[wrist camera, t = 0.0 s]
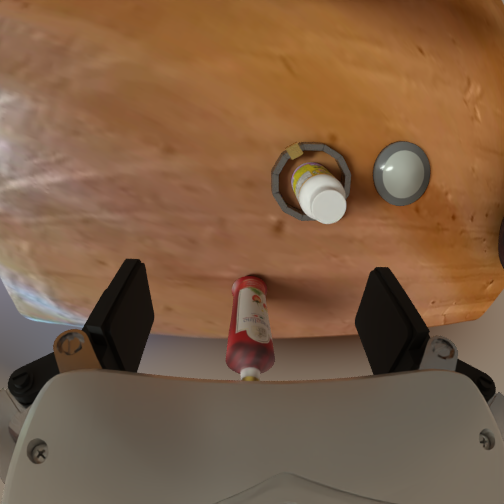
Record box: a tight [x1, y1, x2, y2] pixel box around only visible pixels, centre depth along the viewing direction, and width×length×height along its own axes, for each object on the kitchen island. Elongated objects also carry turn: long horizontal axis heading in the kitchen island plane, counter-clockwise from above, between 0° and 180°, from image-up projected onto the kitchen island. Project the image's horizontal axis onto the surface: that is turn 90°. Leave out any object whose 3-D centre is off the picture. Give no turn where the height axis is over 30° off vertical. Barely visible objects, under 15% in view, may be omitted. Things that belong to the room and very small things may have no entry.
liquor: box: [226, 276, 275, 381], centre depth 45 cm, size 7×7×28 cm
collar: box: [271, 142, 351, 221], centre depth 46 cm, size 15×13×3 cm
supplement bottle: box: [291, 162, 346, 224], centre depth 41 cm, size 7×7×13 cm
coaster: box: [373, 141, 430, 206], centre depth 45 cm, size 12×12×1 cm
